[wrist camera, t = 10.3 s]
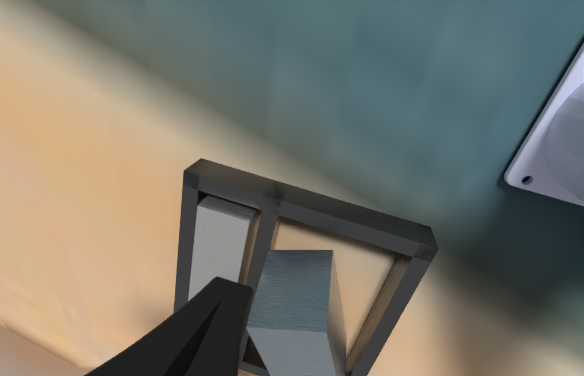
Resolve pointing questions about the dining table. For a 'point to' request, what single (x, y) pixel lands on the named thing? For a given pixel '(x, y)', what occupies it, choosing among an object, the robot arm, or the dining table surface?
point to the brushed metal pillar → (299, 315)
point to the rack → (261, 237)
